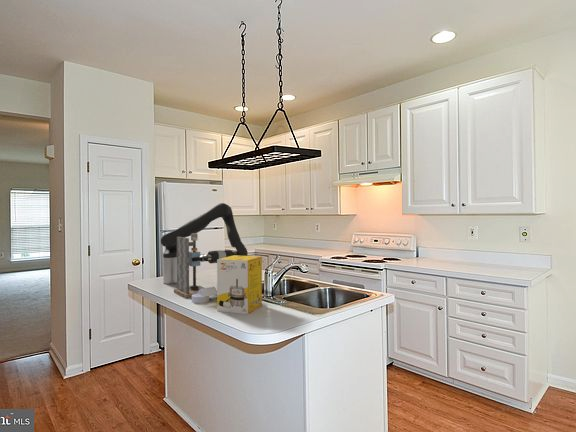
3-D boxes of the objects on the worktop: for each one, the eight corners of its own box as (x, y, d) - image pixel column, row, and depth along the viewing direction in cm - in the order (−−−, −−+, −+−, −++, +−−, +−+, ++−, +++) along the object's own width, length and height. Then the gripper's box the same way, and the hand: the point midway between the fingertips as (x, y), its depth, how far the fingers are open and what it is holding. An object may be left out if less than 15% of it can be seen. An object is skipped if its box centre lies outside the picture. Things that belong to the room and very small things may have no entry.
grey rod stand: (174, 292, 210) (173, 233, 210) (199, 288, 220) (199, 232, 219) (185, 298, 196) (185, 235, 195) (212, 294, 206) (212, 233, 205)
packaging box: (217, 311, 171) (216, 259, 171) (233, 302, 187) (233, 255, 186) (247, 314, 166) (247, 260, 166) (261, 305, 181) (261, 256, 181)
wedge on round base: (210, 297, 199) (188, 301, 191) (210, 285, 199) (188, 288, 191) (218, 300, 192) (196, 304, 184) (218, 287, 192) (196, 291, 184)
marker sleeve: (188, 265, 209) (188, 251, 209) (196, 264, 212) (196, 251, 212) (191, 266, 205) (191, 252, 205) (200, 265, 208) (200, 251, 208)
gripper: (211, 249, 223) (185, 251, 212) (222, 251, 211) (194, 253, 201) (211, 261, 223) (185, 264, 212) (222, 264, 211) (195, 267, 201)
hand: (190, 259), depth 207 cm, fingers closed on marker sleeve, 5 cm apart
